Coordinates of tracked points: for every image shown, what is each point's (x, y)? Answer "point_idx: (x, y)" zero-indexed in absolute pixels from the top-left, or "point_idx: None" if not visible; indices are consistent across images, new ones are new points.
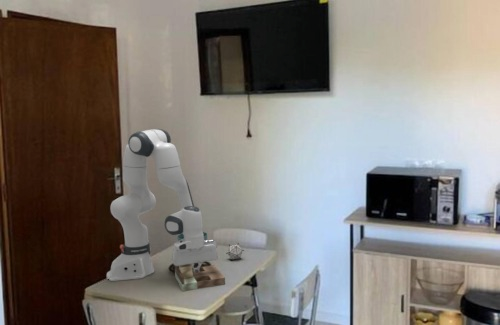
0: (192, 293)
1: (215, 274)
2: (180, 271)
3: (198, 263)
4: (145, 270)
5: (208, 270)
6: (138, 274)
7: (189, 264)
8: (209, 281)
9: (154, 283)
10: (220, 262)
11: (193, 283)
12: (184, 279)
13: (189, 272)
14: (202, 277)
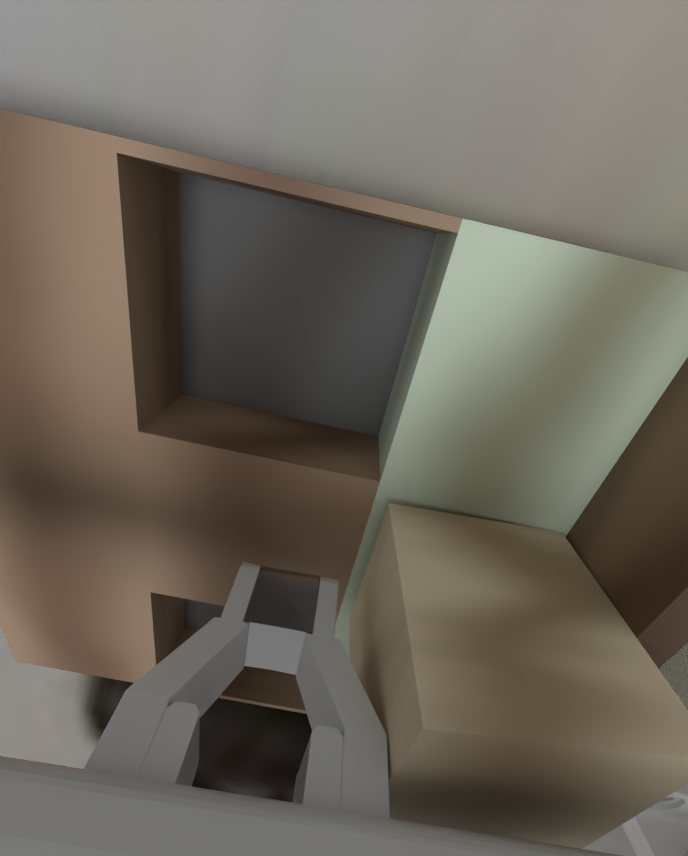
0: (648, 19)
1: (9, 390)
2: None
3: (186, 750)
4: (619, 840)
5: (104, 581)
6: (656, 814)
7: (404, 801)
8: (185, 153)
9: (670, 663)
10: (5, 697)
11: (535, 238)
12: (547, 499)
13: (460, 584)
14: (247, 441)
